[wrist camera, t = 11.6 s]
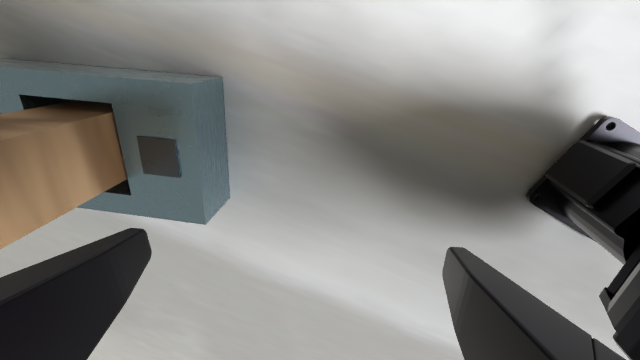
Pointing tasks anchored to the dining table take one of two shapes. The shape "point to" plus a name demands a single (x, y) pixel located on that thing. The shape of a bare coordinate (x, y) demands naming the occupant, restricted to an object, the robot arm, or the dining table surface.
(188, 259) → the dining table surface
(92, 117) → the wooden square peg
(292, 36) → the dining table surface
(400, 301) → the dining table surface
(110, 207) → the socket block
